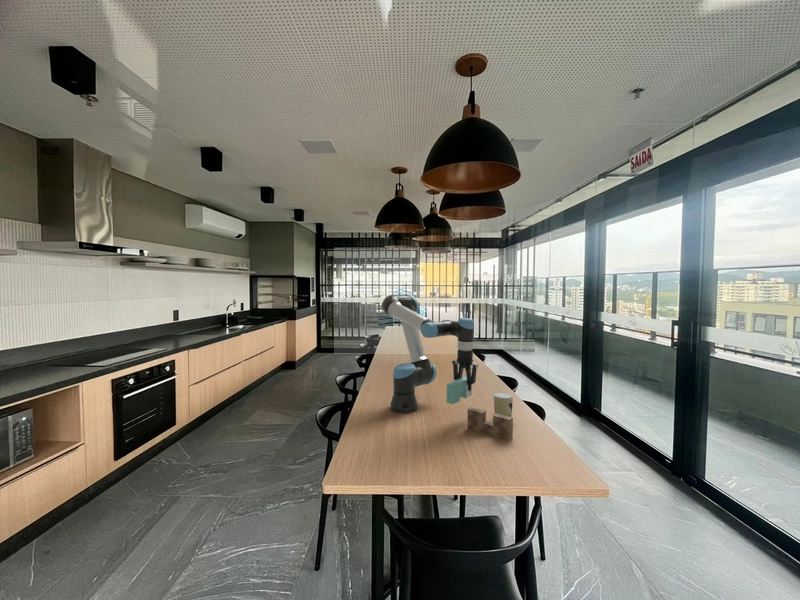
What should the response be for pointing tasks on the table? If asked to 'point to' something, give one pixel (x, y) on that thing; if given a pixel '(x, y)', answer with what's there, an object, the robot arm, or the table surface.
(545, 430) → the table surface
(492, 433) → the walnut rail
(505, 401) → the coffee cup
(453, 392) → the teal rectangular block
